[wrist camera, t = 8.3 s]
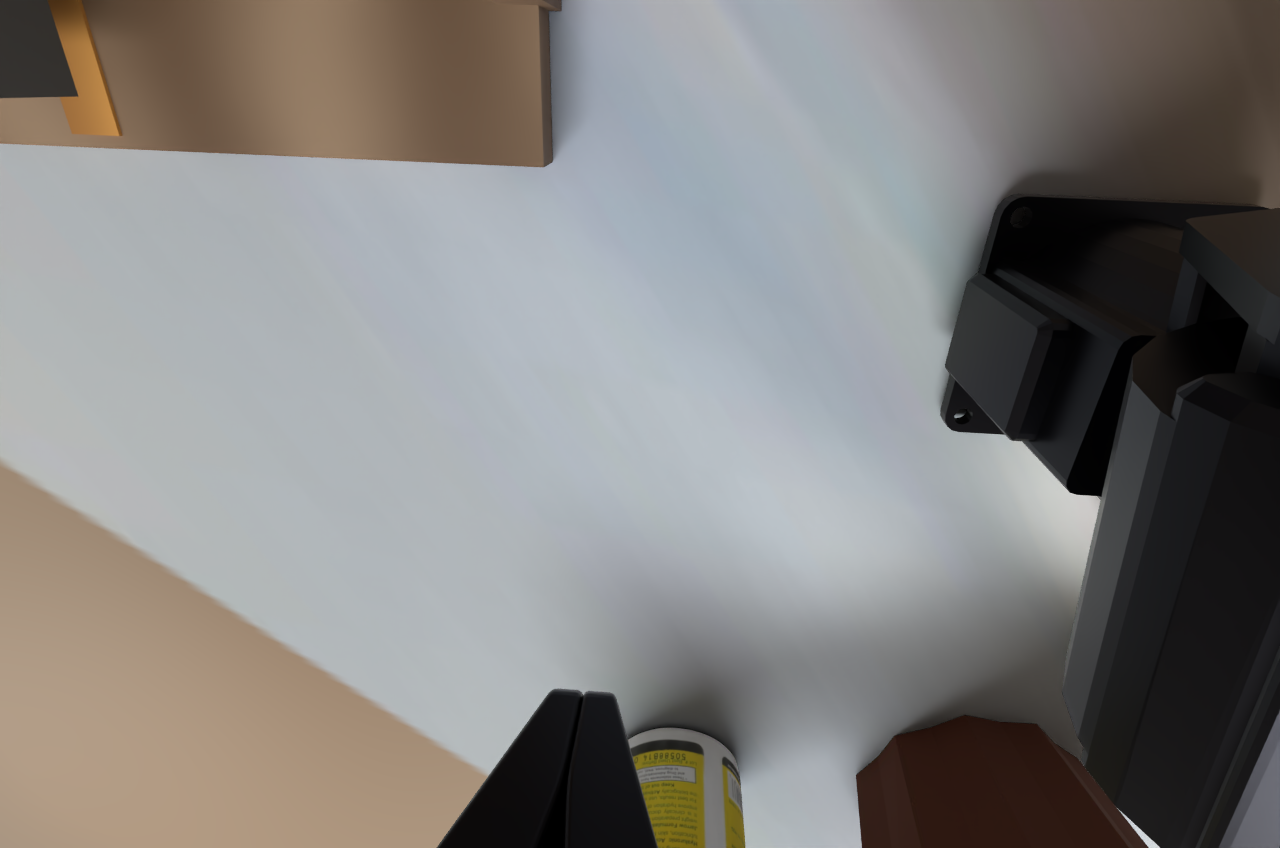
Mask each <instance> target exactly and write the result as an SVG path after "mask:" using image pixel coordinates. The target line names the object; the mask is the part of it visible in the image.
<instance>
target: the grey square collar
mask: <svg viewBox="0 0 1280 848" xmlns="http://www.w3.org/2000/svg"><path fill="white" fill-rule="evenodd" d="M33 97H79V96H78V93H77V90H76V87H75V84H74V81H73V78H72V74H71V71H70V68H69V65H68V62H67V59H66V56H65V53H64V50H63V47H62V43H61V40H60V37H59V34H58V31H57V28H56V25H55V22H54V19H53V16H52V12H51V9H50V6H49V3H48V0H0V98H33Z"/></svg>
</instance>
